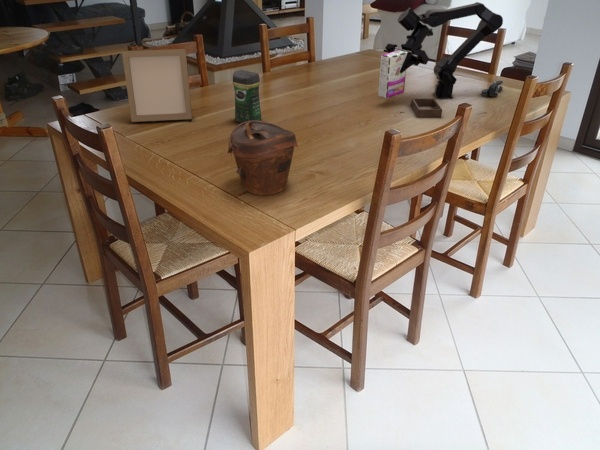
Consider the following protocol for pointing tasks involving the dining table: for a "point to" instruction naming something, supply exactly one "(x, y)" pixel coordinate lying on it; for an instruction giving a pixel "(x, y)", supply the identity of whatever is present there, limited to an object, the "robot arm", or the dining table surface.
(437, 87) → the robot arm
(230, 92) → the dining table surface
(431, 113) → the compartment
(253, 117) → the coffee jar
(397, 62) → the candy bar box
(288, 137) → the brown bucket
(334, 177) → the dining table surface
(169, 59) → the photo frame
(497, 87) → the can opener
